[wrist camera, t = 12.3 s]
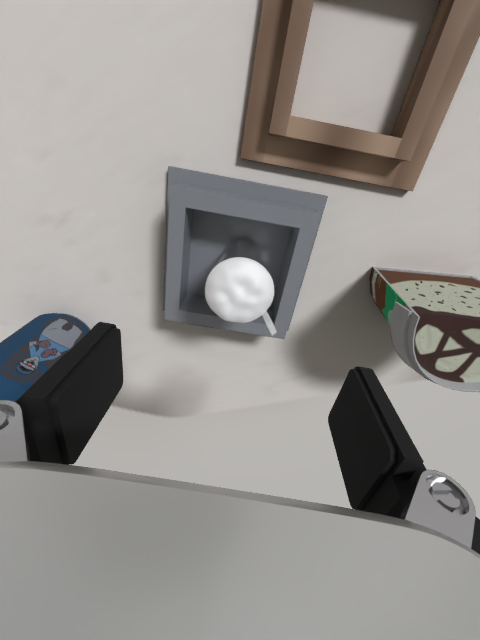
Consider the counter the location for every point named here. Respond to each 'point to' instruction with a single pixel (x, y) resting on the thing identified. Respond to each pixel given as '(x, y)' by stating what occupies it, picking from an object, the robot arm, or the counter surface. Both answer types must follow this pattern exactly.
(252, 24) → the counter surface
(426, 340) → the food container
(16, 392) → the soda can
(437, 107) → the walnut dock
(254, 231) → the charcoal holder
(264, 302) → the milkshake
